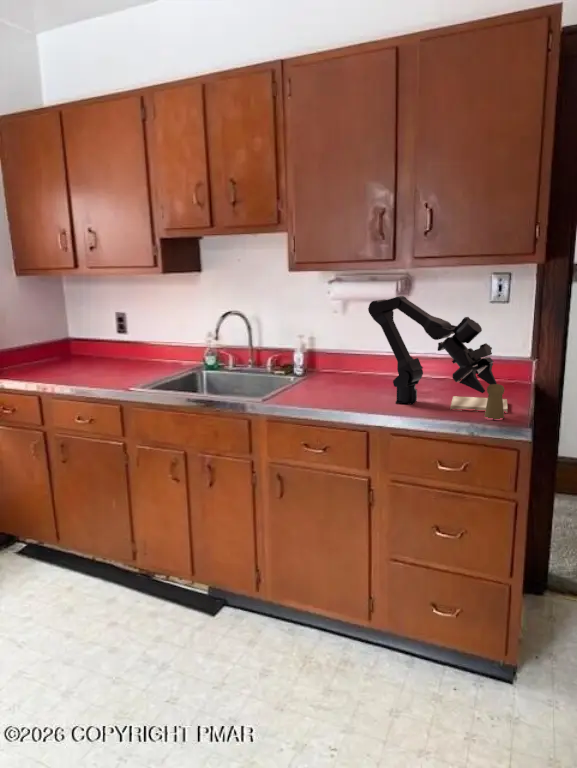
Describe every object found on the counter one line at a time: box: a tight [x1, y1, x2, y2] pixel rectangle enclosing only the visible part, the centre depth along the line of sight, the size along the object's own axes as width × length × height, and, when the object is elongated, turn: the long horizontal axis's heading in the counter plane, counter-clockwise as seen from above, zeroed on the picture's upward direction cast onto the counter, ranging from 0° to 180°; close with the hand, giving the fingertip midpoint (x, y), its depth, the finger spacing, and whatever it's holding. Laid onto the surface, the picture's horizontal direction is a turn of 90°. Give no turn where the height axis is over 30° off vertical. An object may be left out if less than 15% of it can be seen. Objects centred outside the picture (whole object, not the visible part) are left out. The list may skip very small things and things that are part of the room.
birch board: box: [450, 395, 508, 413], centre depth 195 cm, size 18×13×2 cm
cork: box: [484, 383, 505, 419], centre depth 180 cm, size 6×6×11 cm
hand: (490, 389), depth 181 cm, fingers open, 9 cm apart
